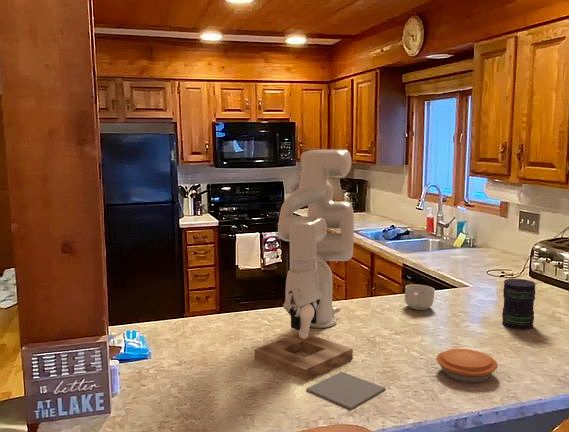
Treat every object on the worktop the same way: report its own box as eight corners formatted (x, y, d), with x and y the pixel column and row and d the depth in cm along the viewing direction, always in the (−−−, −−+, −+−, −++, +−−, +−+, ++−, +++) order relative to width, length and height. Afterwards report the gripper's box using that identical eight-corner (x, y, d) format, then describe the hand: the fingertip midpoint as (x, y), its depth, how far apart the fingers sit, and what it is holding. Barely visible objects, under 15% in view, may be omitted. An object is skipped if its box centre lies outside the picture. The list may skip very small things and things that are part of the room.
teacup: (411, 302, 205) (411, 282, 204) (438, 306, 199) (439, 286, 198) (396, 311, 194) (396, 290, 193) (424, 316, 188) (425, 294, 187)
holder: (301, 341, 165) (301, 331, 165) (352, 358, 151) (352, 348, 151) (254, 359, 151) (254, 349, 151) (305, 380, 137) (305, 369, 137)
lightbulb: (303, 333, 155) (303, 297, 154) (318, 338, 151) (318, 301, 149) (288, 338, 151) (288, 302, 149) (304, 344, 147) (304, 306, 145)
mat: (341, 373, 141) (341, 371, 141) (385, 389, 131) (385, 387, 131) (306, 390, 131) (306, 388, 131) (350, 409, 122) (351, 407, 122)
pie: (429, 362, 148) (430, 345, 148) (485, 362, 148) (485, 345, 147) (444, 386, 133) (445, 367, 132) (506, 387, 133) (507, 368, 132)
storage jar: (525, 332, 171) (527, 287, 169) (496, 325, 178) (498, 282, 176) (538, 325, 177) (541, 282, 175) (510, 318, 185) (512, 277, 183)
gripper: (313, 257, 156) (314, 315, 159) (271, 268, 144) (273, 330, 147) (333, 261, 151) (333, 321, 154) (291, 272, 139) (292, 337, 142)
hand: (303, 325), depth 150 cm, fingers closed on lightbulb, 6 cm apart
